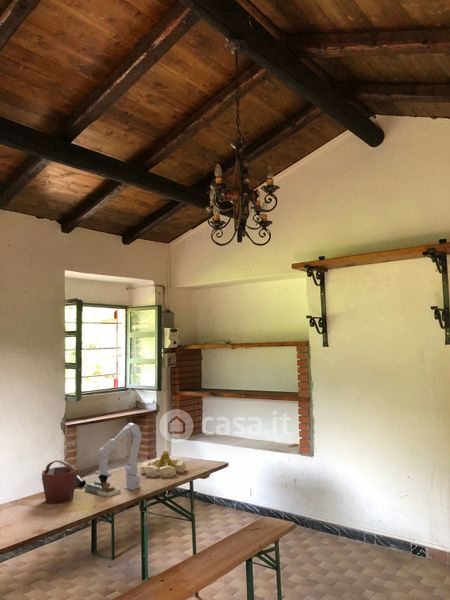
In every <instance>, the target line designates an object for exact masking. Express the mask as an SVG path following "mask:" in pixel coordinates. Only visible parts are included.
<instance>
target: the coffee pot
mask: <svg viewBox="0 0 450 600" xmlns="http://www.w3.org/2000/svg"><path fill="white" fill-rule="evenodd" d="M86 484H87V482H86V480H84V479H83V478H82V477H81V476H80V475H78V474H77V480H76V485H75V488H76V487H79V488H81V487H82V488H85V486H86Z"/></svg>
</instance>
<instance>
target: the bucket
mask: <svg viewBox="0 0 450 600" xmlns="http://www.w3.org/2000/svg"><path fill="white" fill-rule="evenodd" d="M54 463H59V464H62V465H64V466H56V467H55V466H54V467H52V468H50V467H51V466H52V465H53V464H54ZM78 473H79V469H78V468H76V467H74V466H73V465H71V464H70V463H69V462H66V461H64V460H60V459H59V460H58V459H57V460H53V461H51V462H49V463H47V465H46V467H45V470H42V472H41V481H42V485H43V493H44V498H45V503H46V504H51V505H57V504H58V505H59V504H63V503H68V502H69V501H71V500H73V499H74V494H75V489H76V487H75V485H76V480H77V475H78Z"/></svg>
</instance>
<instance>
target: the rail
mask: <svg viewBox="0 0 450 600" xmlns="http://www.w3.org/2000/svg"><path fill="white" fill-rule="evenodd" d="M101 488H102V485H101V481H96V480H95V481H94V482H93V483H92V484H91V483H89V482H88V483H87V482H86V485H85V486H84V491H85V492H87V493H91V494H95V493H96V495H97V490H98V491H102V492H103V491H106V490H103V489H101Z"/></svg>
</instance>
